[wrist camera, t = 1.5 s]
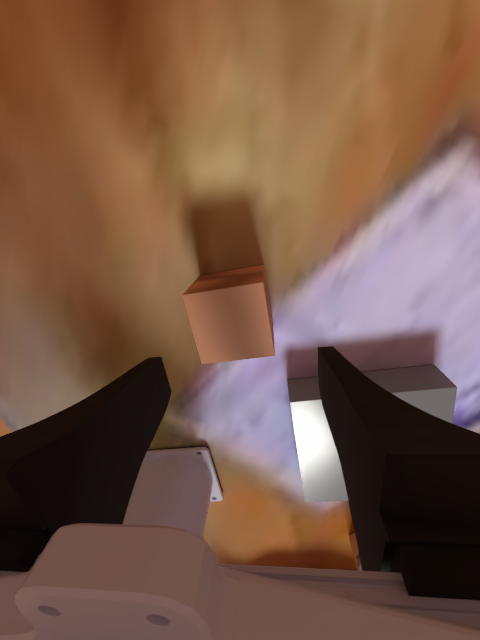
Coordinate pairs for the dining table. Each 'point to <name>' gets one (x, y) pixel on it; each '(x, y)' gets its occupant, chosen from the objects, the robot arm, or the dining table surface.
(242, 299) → the wooden cube
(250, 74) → the dining table surface
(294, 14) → the dining table surface
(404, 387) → the tile block
